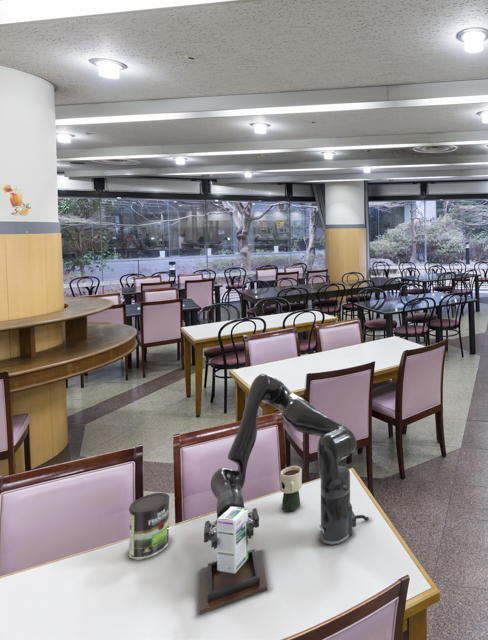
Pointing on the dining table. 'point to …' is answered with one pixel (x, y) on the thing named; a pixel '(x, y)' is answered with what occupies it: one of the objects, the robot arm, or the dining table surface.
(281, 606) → the dining table surface
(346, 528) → the robot arm
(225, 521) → the syrup box
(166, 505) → the coffee can
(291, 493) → the character mug
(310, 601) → the dining table surface
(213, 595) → the base pad
